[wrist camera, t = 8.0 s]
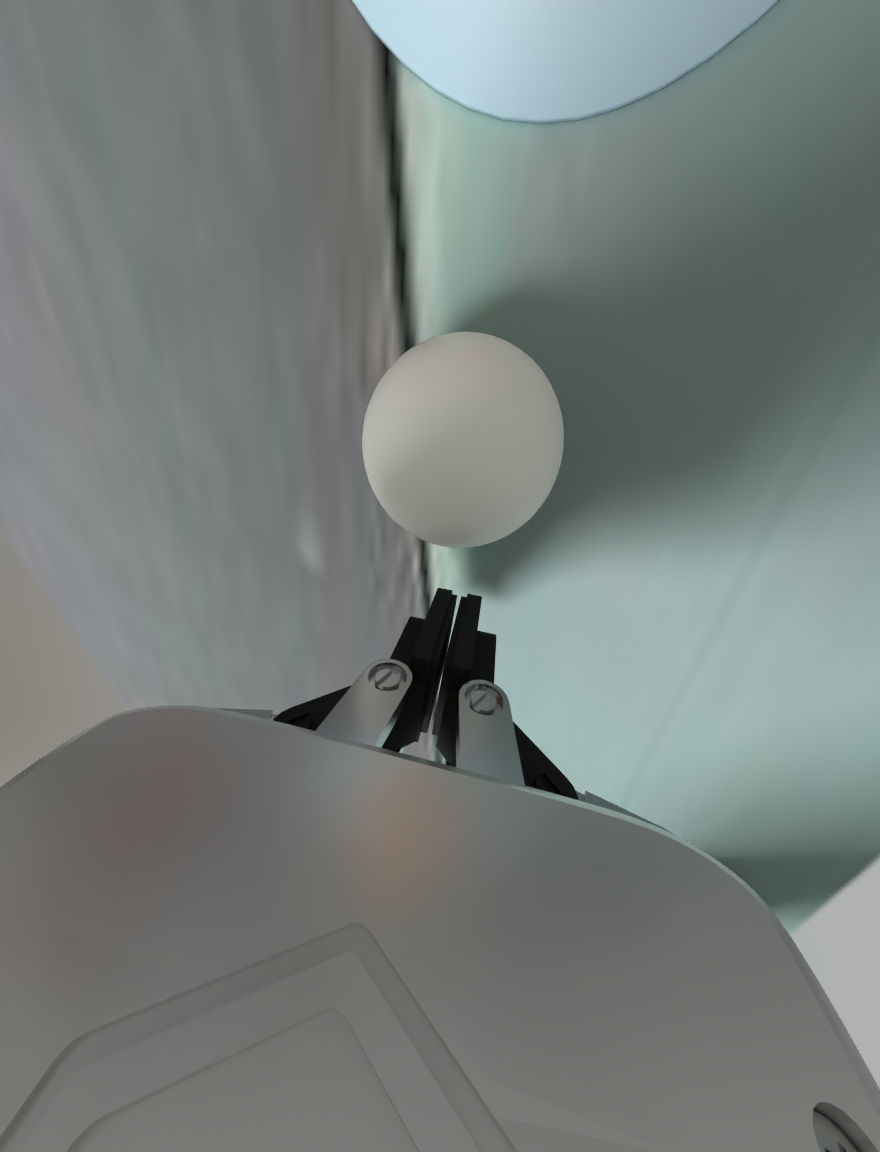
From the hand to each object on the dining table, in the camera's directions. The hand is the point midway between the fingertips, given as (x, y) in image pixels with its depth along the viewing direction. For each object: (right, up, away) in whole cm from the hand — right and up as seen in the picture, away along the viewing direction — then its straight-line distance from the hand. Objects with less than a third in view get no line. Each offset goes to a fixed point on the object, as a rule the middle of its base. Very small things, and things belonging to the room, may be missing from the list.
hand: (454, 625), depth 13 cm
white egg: (0, +5, -3) cm, 6 cm away
